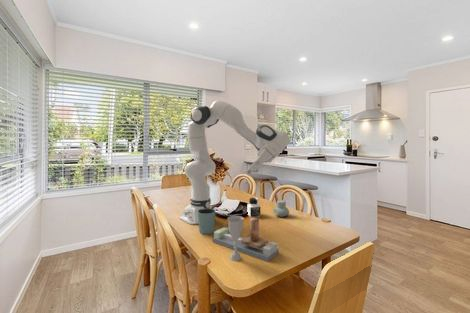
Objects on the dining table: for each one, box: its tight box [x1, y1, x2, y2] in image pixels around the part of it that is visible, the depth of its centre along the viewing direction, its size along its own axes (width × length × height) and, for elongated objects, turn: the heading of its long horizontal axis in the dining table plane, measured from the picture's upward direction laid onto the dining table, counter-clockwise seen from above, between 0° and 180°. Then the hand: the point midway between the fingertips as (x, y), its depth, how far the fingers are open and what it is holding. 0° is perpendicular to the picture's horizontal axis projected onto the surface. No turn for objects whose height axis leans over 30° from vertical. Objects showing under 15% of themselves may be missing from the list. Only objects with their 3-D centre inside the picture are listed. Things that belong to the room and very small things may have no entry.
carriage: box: [241, 217, 269, 249], centre depth 111 cm, size 10×8×12 cm
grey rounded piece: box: [272, 199, 290, 218], centre depth 161 cm, size 11×8×10 cm
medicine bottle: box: [246, 197, 261, 218], centre depth 161 cm, size 7×7×12 cm
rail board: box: [212, 226, 279, 263], centre depth 115 cm, size 32×10×5 cm, turn 53°
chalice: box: [226, 215, 245, 262], centre depth 104 cm, size 7×7×18 cm
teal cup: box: [197, 208, 216, 235], centre depth 134 cm, size 10×10×12 cm
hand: (249, 171), depth 121 cm, fingers open, 8 cm apart
